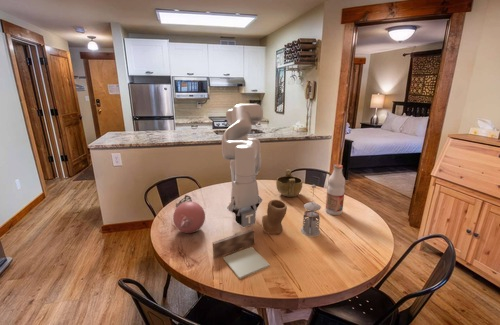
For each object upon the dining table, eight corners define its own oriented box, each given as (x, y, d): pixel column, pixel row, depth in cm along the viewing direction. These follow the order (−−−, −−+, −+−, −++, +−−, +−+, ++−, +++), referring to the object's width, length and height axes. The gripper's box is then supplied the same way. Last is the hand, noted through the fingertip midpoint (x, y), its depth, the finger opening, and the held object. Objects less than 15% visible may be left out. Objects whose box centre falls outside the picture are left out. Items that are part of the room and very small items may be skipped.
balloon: (165, 244, 119) (162, 214, 115) (181, 222, 138) (178, 195, 134) (197, 246, 118) (195, 215, 113) (209, 223, 137) (207, 197, 132)
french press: (321, 228, 132) (325, 182, 125) (319, 240, 121) (323, 191, 114) (302, 224, 135) (304, 180, 128) (298, 236, 125) (301, 188, 117)
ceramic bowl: (304, 202, 161) (305, 180, 157) (277, 202, 161) (277, 179, 157) (299, 188, 182) (300, 168, 178) (275, 188, 183) (275, 168, 178)
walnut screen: (252, 242, 120) (252, 228, 118) (254, 243, 119) (254, 230, 117) (213, 256, 110) (212, 242, 108) (214, 258, 109) (214, 244, 107)
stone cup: (287, 236, 125) (288, 208, 121) (262, 235, 125) (263, 207, 121) (283, 220, 140) (284, 195, 135) (261, 220, 140) (262, 194, 136)
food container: (187, 221, 139) (186, 204, 136) (177, 220, 140) (175, 203, 137) (196, 211, 150) (195, 195, 147) (186, 210, 151) (185, 194, 149)
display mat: (251, 248, 116) (251, 246, 115) (269, 266, 104) (269, 264, 104) (223, 258, 109) (223, 257, 108) (239, 279, 97) (239, 277, 97)
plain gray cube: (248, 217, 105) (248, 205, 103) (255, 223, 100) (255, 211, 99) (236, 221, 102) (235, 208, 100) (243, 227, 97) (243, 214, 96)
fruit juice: (323, 207, 154) (327, 162, 146) (339, 208, 153) (344, 163, 145) (327, 215, 145) (331, 168, 137) (344, 215, 144) (349, 168, 136)
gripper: (258, 171, 103) (258, 212, 108) (219, 179, 95) (221, 222, 100) (269, 176, 97) (269, 219, 102) (229, 185, 88) (230, 231, 94)
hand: (245, 220), depth 101 cm, fingers closed on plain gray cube, 5 cm apart
